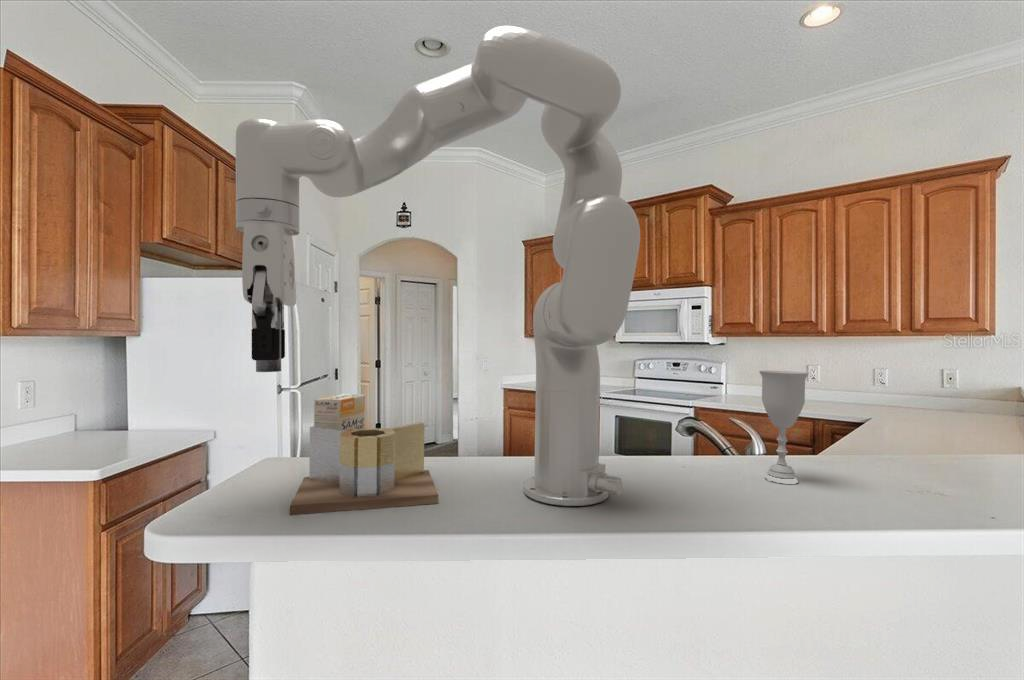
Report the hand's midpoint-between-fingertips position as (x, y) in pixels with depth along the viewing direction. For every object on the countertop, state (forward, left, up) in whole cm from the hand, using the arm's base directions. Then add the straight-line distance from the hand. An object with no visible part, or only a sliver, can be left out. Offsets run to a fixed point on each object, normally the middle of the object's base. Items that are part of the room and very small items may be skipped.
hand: (268, 358), depth 65 cm
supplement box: (+7, -15, -20) cm, 26 cm away
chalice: (-51, -60, -20) cm, 82 cm away
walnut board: (-5, -12, -20) cm, 24 cm away
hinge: (-4, -12, -19) cm, 23 cm away
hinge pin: (0, 0, -2) cm, 2 cm away
